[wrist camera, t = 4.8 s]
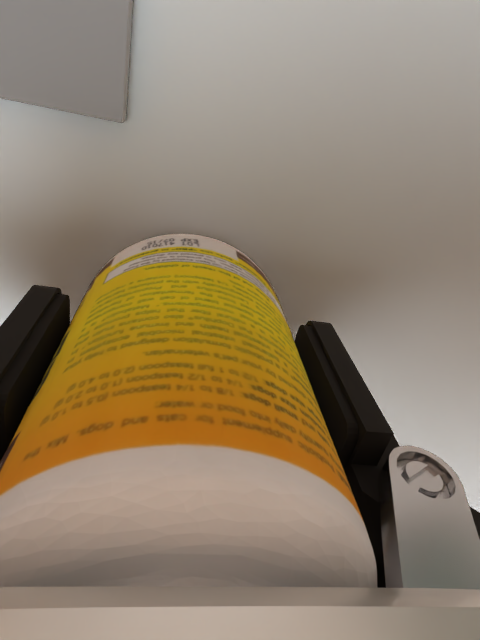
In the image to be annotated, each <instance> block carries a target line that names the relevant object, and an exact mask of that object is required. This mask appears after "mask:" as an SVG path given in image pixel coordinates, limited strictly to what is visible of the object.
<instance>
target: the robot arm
mask: <svg viewBox="0 0 480 640" xmlns="http://www.w3.org/2000/svg"><path fill="white" fill-rule="evenodd" d="M69 325H70V300H69V296H68V295H62V293H61V289H60V288H54V287H46V286H38V285H33V286H32V287H31V289H30V290H29V291H28V292H27V294H26V295H25V296H24V297H23V299H22V300H21V301H20V302H19V304H18V305H17V306H16V308H15V309H14V310H13V311H12V313H11V314H10V315H9V316H8V318H7V319H6V320H5V321H4V323H3V324H2V325H1V326H0V461H1V459H2V457H3V456H4V454H5V452H6V450H7V449H8V447H9V445H10V443H11V441H12V439H13V437H14V435H15V433H16V431H17V429H18V427H19V425H20V423H21V421H22V419H23V417H24V415H25V413H26V410H27V408H28V406H29V405H30V403H31V401H32V399H33V397H34V395H35V393H36V391H37V389H38V387H39V385H40V383H41V381H42V379H43V377H44V375H45V373H46V371H47V369H48V367H49V365H50V363H51V360H52V358H53V356H54V354H55V352H56V350H57V348H58V347H59V345H60V343H61V341H62V339H63V337H64V335H65V333H66V331H67V329H68V327H69ZM295 345H296V348H297V350H298V353H299V356H300V358H301V361H302V364H303V366H304V369H305V371H306V374H307V377H308V379H309V382H310V384H311V387H312V390H313V392H314V395H315V398H316V400H317V403H318V405H319V408H320V411H321V413H322V416H323V418H324V421H325V423H326V426H327V429H328V431H329V434H330V436H331V439H332V441H333V444H334V447H335V449H336V452H337V454H338V457H339V459H340V462H341V465H342V467H343V470H344V472H345V475H346V477H347V480H348V483H349V485H350V488H351V490H352V493H353V495H354V498H355V501H356V503H357V506H358V508H359V511H360V514H361V516H362V519H363V521H364V524H365V527H366V530H367V533H368V536H369V539H370V542H371V545H372V548H373V552H374V556H375V560H376V567H377V588H358V587H134V586H85V587H0V640H480V513H479V512H477V511H476V510H474V509H473V508H471V507H470V506H469V504H468V500H467V497H466V494H465V491H464V487H463V485H462V483H461V481H460V479H459V477H458V475H457V474H456V473H455V472H454V470H453V469H452V468H451V467H450V466H449V465H448V464H447V463H446V462H444V461H443V460H442V459H441V458H439V457H437V456H436V455H434V454H433V453H431V452H429V451H426V450H424V449H422V448H419V447H414V446H399V444H398V443H397V441H396V439H395V437H394V436H393V434H394V433H393V432H392V430H391V428H390V426H389V425H388V423H387V421H386V419H385V417H384V416H383V414H382V412H381V410H380V409H379V407H378V405H377V403H376V402H375V400H374V398H373V396H372V395H371V393H370V391H369V389H368V388H367V386H366V384H365V382H364V381H363V379H362V377H361V375H360V374H359V372H358V370H357V368H356V367H355V365H354V363H353V361H352V360H351V358H350V356H349V354H348V353H347V351H346V349H345V347H344V346H343V344H342V342H341V340H340V339H339V337H338V335H337V333H336V332H335V330H334V328H333V326H332V325H331V324H330V323H324V322H316V321H308V322H307V324H306V325H301V326H300V327H299V329H298V332H297V335H296V338H295Z"/></svg>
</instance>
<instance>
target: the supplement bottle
mask: <svg viewBox="0 0 480 640" xmlns="http://www.w3.org/2000/svg"><path fill="white" fill-rule="evenodd" d="M85 586H134V587H358V588H377V567H376V560H375V556H374V552H373V548H372V545H371V542H370V539H369V536H368V533H367V530H366V527H365V524H364V521H363V519H362V516H361V514H360V511H359V508H358V506H357V503H356V501H355V498H354V495H353V493H352V490H351V488H350V485H349V483H348V480H347V477H346V475H345V472H344V470H343V467H342V465H341V462H340V459H339V457H338V454H337V452H336V449H335V447H334V444H333V441H332V439H331V436H330V434H329V431H328V429H327V426H326V423H325V421H324V418H323V416H322V413H321V411H320V408H319V405H318V403H317V400H316V398H315V395H314V392H313V390H312V387H311V384H310V382H309V379H308V377H307V374H306V371H305V369H304V366H303V364H302V361H301V358H300V356H299V353H298V350H297V348H296V345H295V342H294V340H293V337H292V334H291V331H290V329H289V327H288V324H287V321H286V318H285V316H284V313H283V311H282V308H281V306H280V303H279V300H278V298H277V296H276V293H275V291H274V289H273V287H272V285H271V283H270V282H269V280H268V278H267V277H266V275H265V274H264V273H263V272H262V270H261V269H260V268H259V267H258V266H257V265H256V264H255V263H254V262H253V261H252V260H251V259H250V258H249V257H248V256H247V255H245V254H244V253H242V252H241V251H239V250H238V249H236V248H234V247H232V246H231V245H229V244H227V243H224V242H222V241H219V240H216V239H213V238H210V237H205V236H201V235H193V234H167V235H161V236H156V237H152V238H148V239H145V240H142V241H140V242H137V243H135V244H133V245H131V246H129V247H127V248H125V249H124V250H122V251H121V252H119V253H118V254H117V255H115V256H114V257H113V258H112V259H110V260H109V261H108V262H107V263H106V264H105V265H104V266H103V267H102V269H101V270H100V271H99V272H98V273H97V275H96V276H95V278H94V280H93V281H92V283H91V284H90V286H89V288H88V290H87V292H86V294H85V296H84V298H83V299H82V301H81V303H80V305H79V307H78V309H77V311H76V313H75V315H74V317H73V319H72V321H71V323H70V325H69V327H68V329H67V331H66V333H65V335H64V337H63V339H62V341H61V343H60V345H59V347H58V348H57V350H56V352H55V354H54V356H53V358H52V360H51V363H50V365H49V367H48V369H47V371H46V373H45V375H44V377H43V379H42V381H41V383H40V385H39V387H38V389H37V391H36V393H35V395H34V397H33V399H32V401H31V403H30V405H29V406H28V408H27V410H26V413H25V415H24V417H23V419H22V421H21V423H20V425H19V427H18V429H17V431H16V433H15V435H14V437H13V439H12V441H11V443H10V445H9V447H8V449H7V450H6V452H5V454H4V456H3V457H2V459H1V461H0V587H85Z"/></svg>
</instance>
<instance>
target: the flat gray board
mask: <svg viewBox="0 0 480 640" xmlns="http://www.w3.org/2000/svg"><path fill="white" fill-rule="evenodd" d="M132 11H133V0H0V98H3V99H8V100H13V101H18V102H22V103H27V104H32V105H37V106H42V107H47V108H52V109H57V110H61V111H66V112H71V113H76V114H81V115H86V116H91V117H95V118H100V119H105V120H110V121H115V122H120V123H123V122H125V121H126V114H127V97H128V79H129V62H130V45H131V28H132Z"/></svg>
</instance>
